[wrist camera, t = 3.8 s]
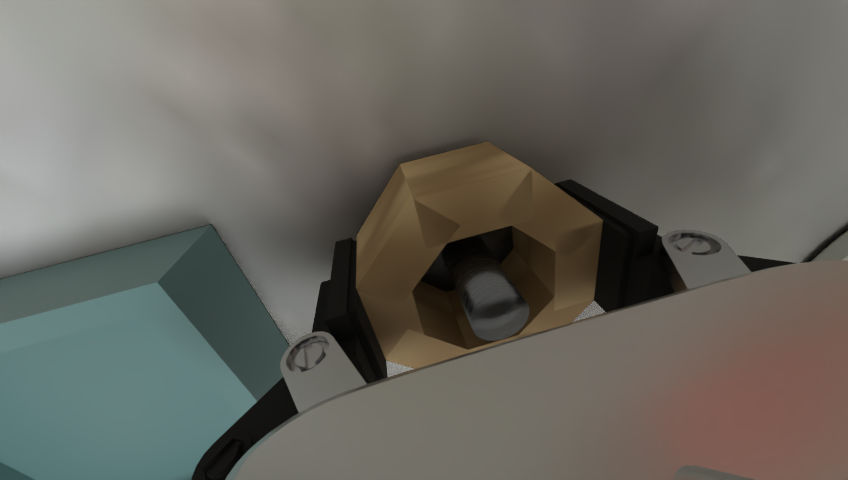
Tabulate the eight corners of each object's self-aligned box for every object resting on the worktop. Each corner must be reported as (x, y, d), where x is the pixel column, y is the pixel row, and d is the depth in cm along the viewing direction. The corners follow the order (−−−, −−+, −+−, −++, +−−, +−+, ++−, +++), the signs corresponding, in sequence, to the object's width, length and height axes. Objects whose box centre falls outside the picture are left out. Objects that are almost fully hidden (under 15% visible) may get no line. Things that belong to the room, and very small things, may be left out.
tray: (211, 224, 11) (157, 282, 8) (343, 429, 18) (339, 499, 15) (-211, 333, 10) (-440, 440, 7) (100, 502, 17) (48, 589, 14)
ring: (547, 125, 10) (612, 146, 7) (546, 289, 14) (590, 341, 11) (336, 180, 10) (327, 222, 7) (392, 333, 13) (400, 397, 11)
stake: (520, 139, 11) (620, 185, 7) (525, 270, 14) (596, 359, 10) (356, 181, 11) (354, 257, 6) (398, 305, 14) (415, 413, 10)
